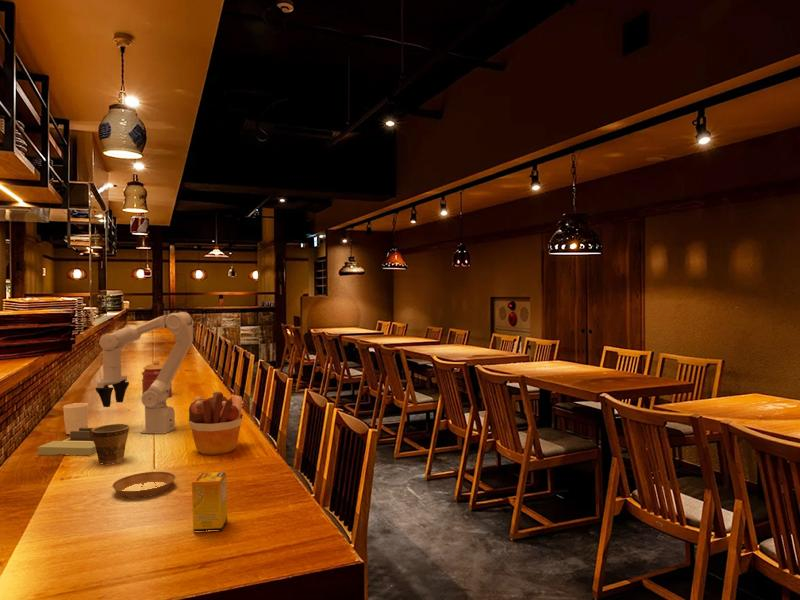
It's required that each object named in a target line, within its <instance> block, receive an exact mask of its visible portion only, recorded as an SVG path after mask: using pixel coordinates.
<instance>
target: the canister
mask: <svg viewBox="0 0 800 600" xmlns="http://www.w3.org/2000/svg"><path fill="white" fill-rule="evenodd" d="M164 364H165V363H160V361H159V359H154V360H153V363H152V364H151V363H150V364H147V365H146V366H144V367H143V368H142V369H144V370H143V372H141V375H142V379H141V384H142V386H141V387H142V388H141V389H142V393H141V394H142V395H143V393H144V392H145V391H147V390H148V389H149V388H150V386H151V385H152V383H153V382H154V381H155V380H156V379H157V377H158V375H159V373H160V371H161V369H162V367H163V365H164ZM170 385H171V388H170V390H169V397H168V398H171V397H172V395H173V389H172V383H171V384H170ZM142 395H141V396H142Z"/></svg>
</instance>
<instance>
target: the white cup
mask: <svg viewBox="0 0 800 600" xmlns="http://www.w3.org/2000/svg"><path fill="white" fill-rule="evenodd" d="M62 408H63V421H64V428H65V434H66V435H67V434H70V431H79V428H89V427H88V426H89V425H88V424H89V403H88V402H76V403H69V404H64V405H63V407H62Z"/></svg>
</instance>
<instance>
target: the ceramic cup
mask: <svg viewBox="0 0 800 600" xmlns="http://www.w3.org/2000/svg"><path fill="white" fill-rule="evenodd" d="M93 428H94V429H91V430H90V436H91V438H92V439H93V441H94V444H95V447H96V451H97V454H96V455H97V459H98V463H99V464H100V463H103V464H102V465H105V464H108V465H113V464H112V463H115V464H118V462H119V463H122V462H123V461H124V457H125V450H126V445H127V440H128V436H129V429H130V425H129V424H126V423H123V424H122V423H114V424H113V423H112V424H105V425H100V426H96V427H93Z"/></svg>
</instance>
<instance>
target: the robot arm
mask: <svg viewBox="0 0 800 600" xmlns="http://www.w3.org/2000/svg"><path fill="white" fill-rule="evenodd" d="M194 324H195V323H194V319H193V318H192V316H191V314H189V313H188V312H186V311H179V312H171V313H170V314H169V313H168V314H165V315H161V316H158V317H156V318H154V319H151V320H149V321H146V322H145V323H141V324H139V325H135V324H126V325H124V327H123V328H120V329H115V330H112V333H105V334H104V335H102V336H101V337H100V338H99V340H98V341H99V342H98V344H99V347H100V348H101V349H102V371H103V375H102V376H103V378H101V379H100V381H98V382H96V387H95V391H96V393H97V394H98V396H99V398H100V400H101V403H102V406H103V407H102V408H110V407H111V403H112V401H111V399H112V398H111V397H112V393H113V391H114V395H115V400H116V401H115V402H116V403H124V398H125V395H126V393H127V392H126V391H127V388H128V387H129V386H130V381H128V376H127V375H122V353H121V348H122V347H123V346H125V345H128V344H130V343H133V342H135V341H138V340H140V338H142V337H141V336H142V335H143V334H145V333H149V332H151V331H154V330H157V329H160V328H162V329H168V330H169V331H170V333H171V334H172V335H173V336H174V339H175V344H174V345H173V347H172V349H171V350H170V352H169V355H168V356H167V358H166V360H165V362H164V363H163V364H164V365H163V367H162V369H161V371H160V373H159V375H158V377H157V379H156V380H155V381H154V382H153V383H152V385H151V386H150V388H149V389H148V390H147V391H145V392H144V393H143V395H141V400H140V401H141V403H142V404H143V406H144V420H145V421H144V423H145V427H144V430H141V431H140V434H163V435H164V434H167V433H169V432H171V431H174V430H175V429H177V426H176V420H175V413H176V412H175V409H174V407H172V406H168V405H167V400H168V399H169V398H170V397H169V390H170V388H171V387H172V382H173V380H174V378H175V376H176V374H177V372H178V371H179V368H180V366H181V365H182V362H183V361H184V359H185V357H186V355H187V353H188V352H189V350H190V347H191V346H192V345H193V342H194ZM170 384H171V385H170ZM110 386H112V387H110Z"/></svg>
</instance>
